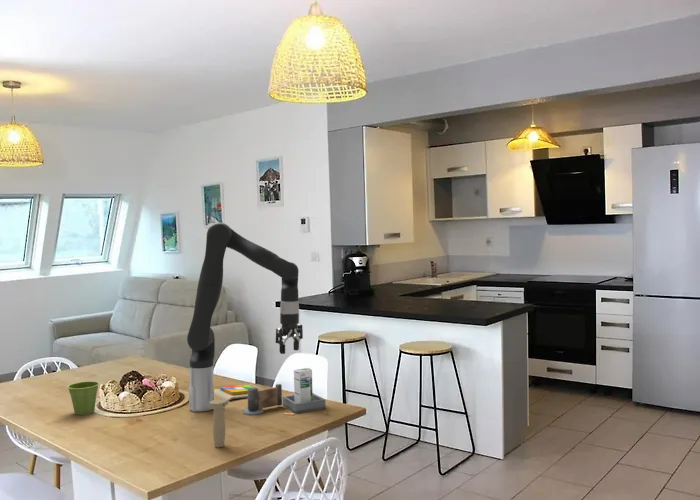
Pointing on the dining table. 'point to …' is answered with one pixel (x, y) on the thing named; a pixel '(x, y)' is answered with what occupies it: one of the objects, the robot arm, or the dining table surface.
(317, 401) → the grey tray
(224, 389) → the wooden puzzle
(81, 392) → the plant pot
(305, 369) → the syrup box
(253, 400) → the crank lever
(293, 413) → the crank base
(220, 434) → the handle
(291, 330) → the robot arm
